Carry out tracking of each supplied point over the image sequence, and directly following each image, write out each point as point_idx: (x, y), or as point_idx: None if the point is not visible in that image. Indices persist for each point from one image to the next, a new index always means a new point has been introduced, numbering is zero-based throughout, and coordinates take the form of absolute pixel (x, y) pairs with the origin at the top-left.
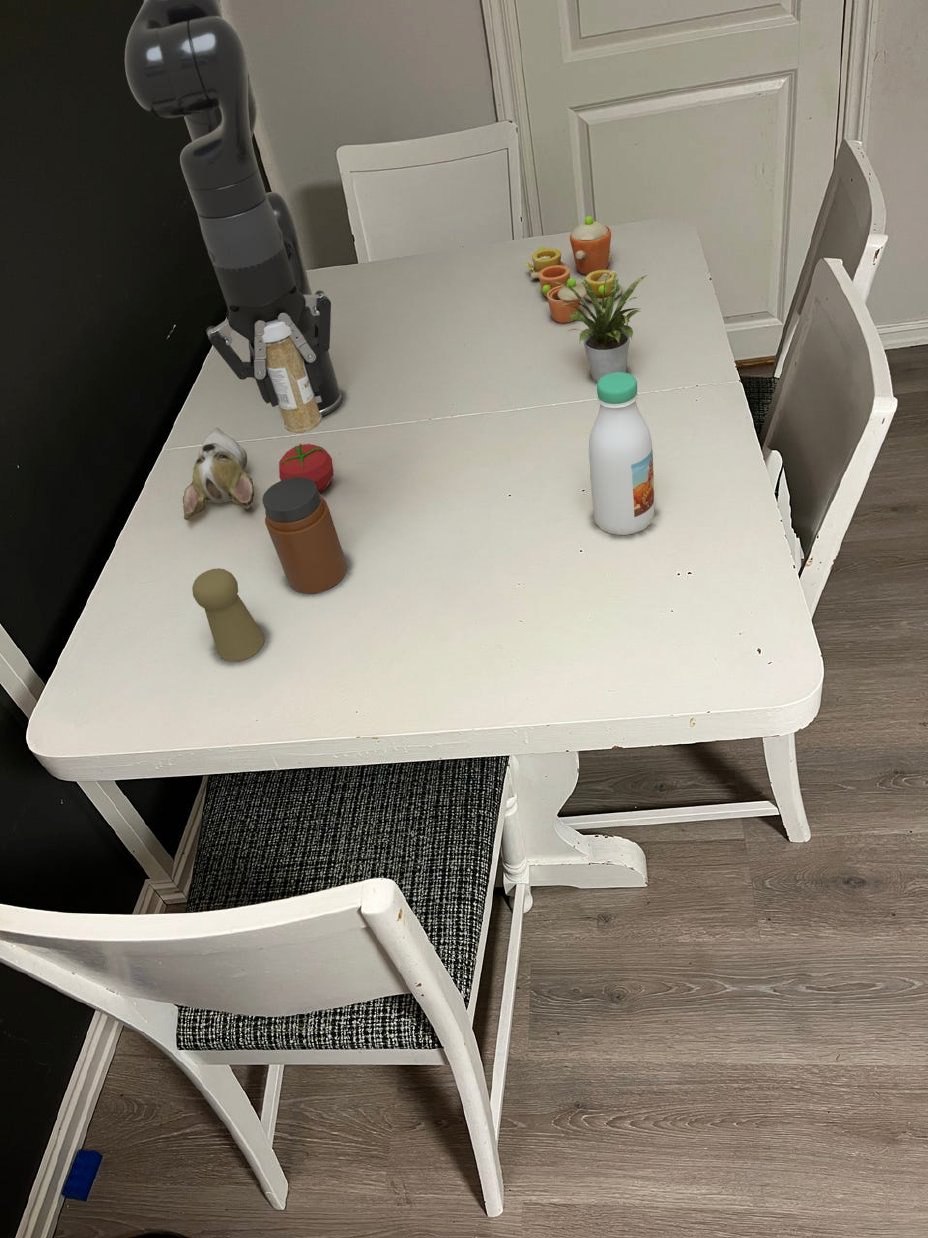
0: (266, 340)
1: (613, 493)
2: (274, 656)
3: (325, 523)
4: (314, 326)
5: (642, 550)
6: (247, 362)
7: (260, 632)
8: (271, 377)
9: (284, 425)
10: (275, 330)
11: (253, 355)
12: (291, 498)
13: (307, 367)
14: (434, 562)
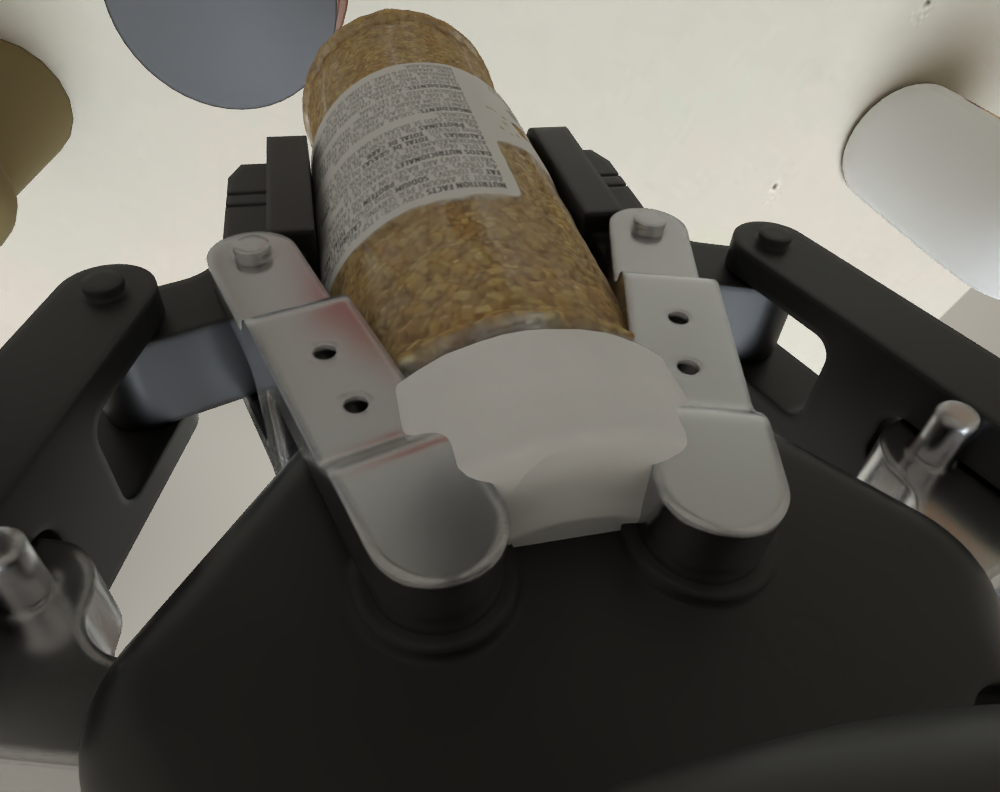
0: None
1: (905, 234)
2: (105, 184)
3: None
4: (813, 319)
5: (838, 233)
6: (199, 339)
7: (64, 126)
8: None
9: (304, 122)
10: None
11: (277, 469)
12: (230, 38)
13: None
14: (539, 62)
